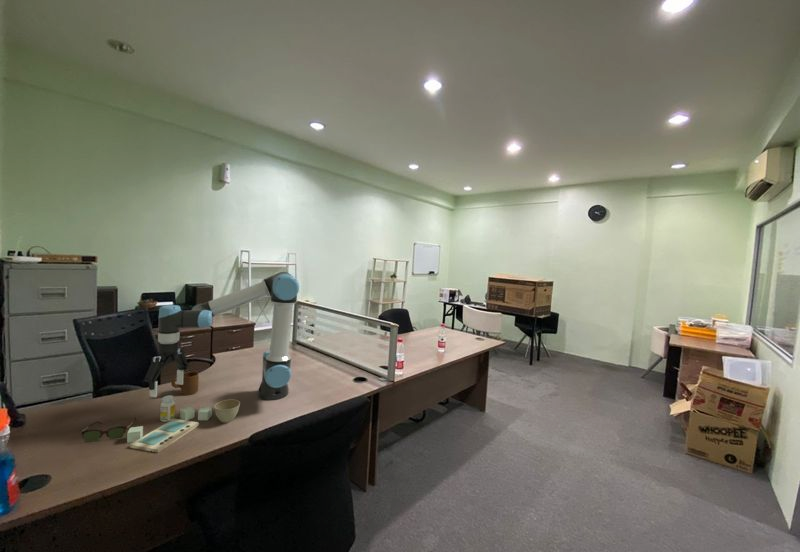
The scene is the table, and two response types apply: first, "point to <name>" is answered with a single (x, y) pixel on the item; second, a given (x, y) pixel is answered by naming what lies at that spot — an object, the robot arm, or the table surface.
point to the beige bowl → (227, 410)
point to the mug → (188, 383)
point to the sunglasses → (111, 433)
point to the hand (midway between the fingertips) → (167, 390)
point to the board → (164, 435)
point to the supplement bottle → (167, 408)
